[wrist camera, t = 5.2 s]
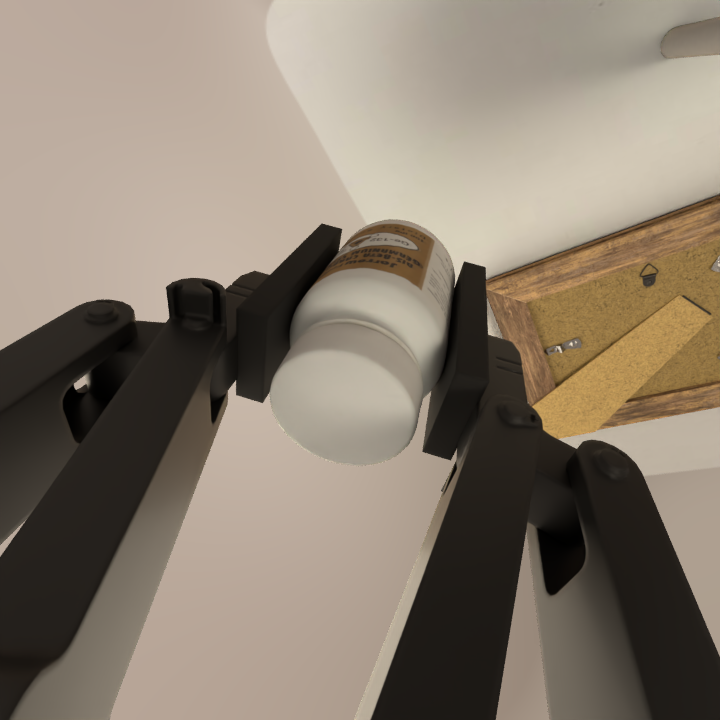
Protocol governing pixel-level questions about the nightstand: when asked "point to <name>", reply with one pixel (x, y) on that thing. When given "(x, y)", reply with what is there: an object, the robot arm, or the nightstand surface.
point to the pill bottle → (367, 346)
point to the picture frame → (619, 324)
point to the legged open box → (693, 40)
